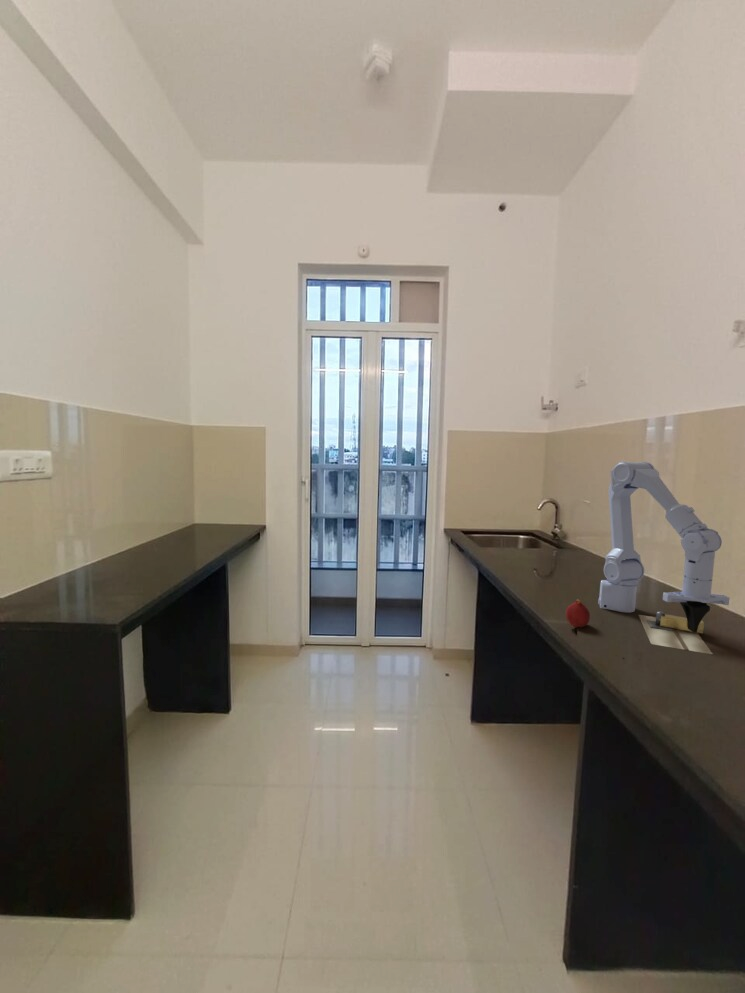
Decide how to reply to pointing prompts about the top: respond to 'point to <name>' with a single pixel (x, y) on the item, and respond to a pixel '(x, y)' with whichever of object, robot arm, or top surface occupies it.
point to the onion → (577, 614)
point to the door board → (673, 636)
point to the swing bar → (675, 622)
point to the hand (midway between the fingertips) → (692, 630)
